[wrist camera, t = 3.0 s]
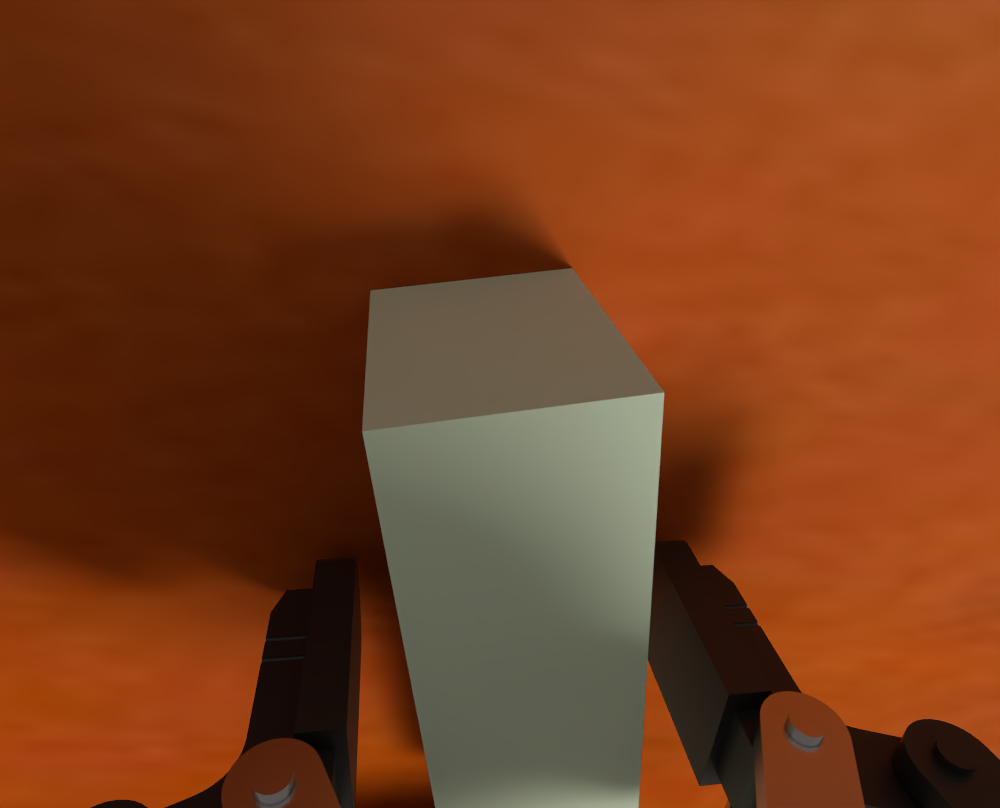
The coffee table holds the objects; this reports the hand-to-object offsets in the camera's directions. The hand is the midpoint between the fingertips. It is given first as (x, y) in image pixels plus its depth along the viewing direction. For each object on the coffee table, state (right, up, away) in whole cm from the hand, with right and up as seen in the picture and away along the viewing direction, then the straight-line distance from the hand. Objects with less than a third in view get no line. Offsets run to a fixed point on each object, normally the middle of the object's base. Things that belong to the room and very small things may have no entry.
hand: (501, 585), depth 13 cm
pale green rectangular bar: (0, 0, +1) cm, 1 cm away
